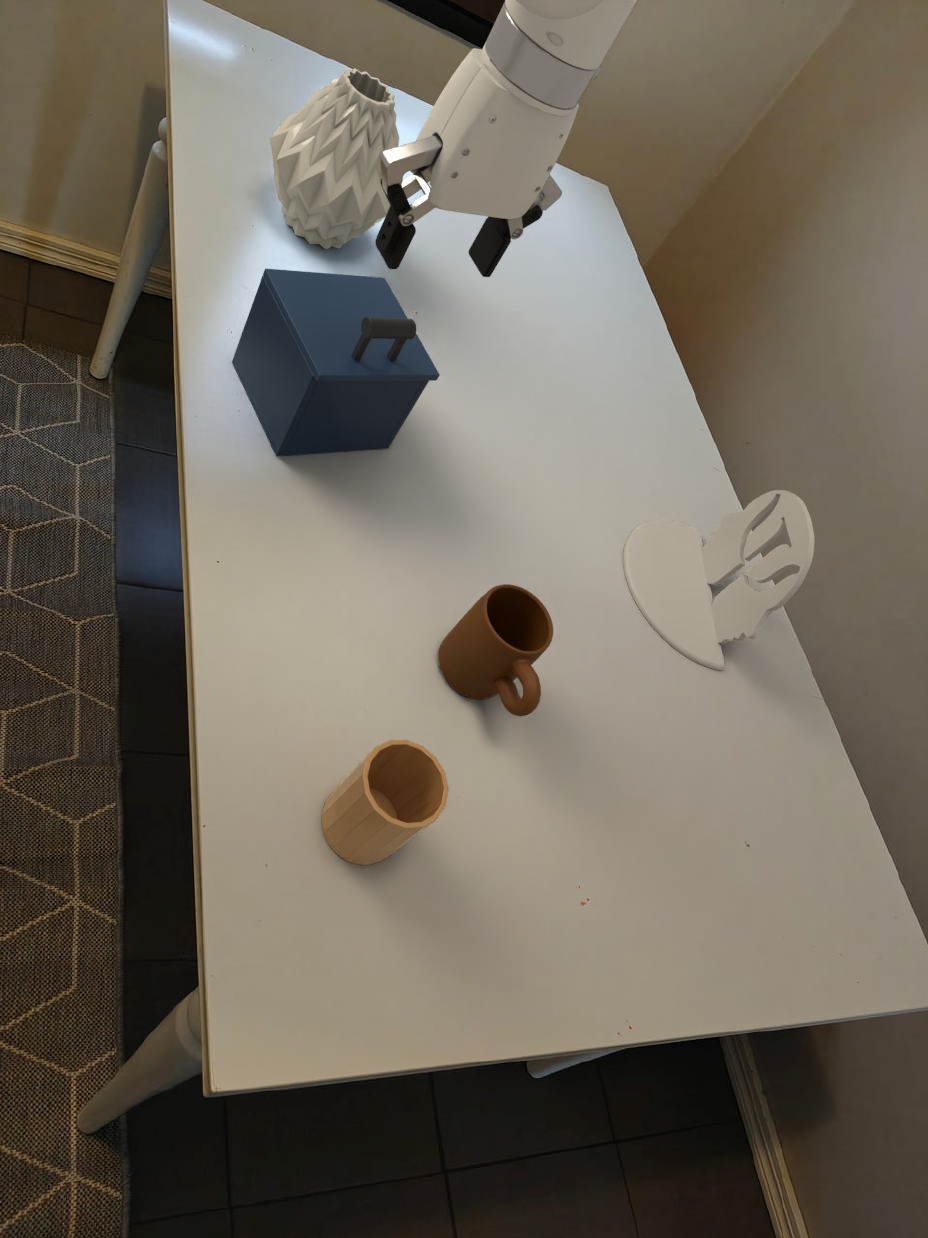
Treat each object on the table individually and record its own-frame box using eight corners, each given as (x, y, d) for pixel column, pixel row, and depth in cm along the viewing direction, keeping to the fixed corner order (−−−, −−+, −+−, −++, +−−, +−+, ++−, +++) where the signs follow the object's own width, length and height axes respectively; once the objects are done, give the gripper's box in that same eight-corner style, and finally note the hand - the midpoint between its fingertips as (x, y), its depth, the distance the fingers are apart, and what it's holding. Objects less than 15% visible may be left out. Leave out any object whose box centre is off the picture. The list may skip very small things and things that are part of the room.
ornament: (723, 672, 101) (833, 598, 88) (631, 641, 96) (734, 558, 84) (698, 531, 113) (791, 449, 101) (616, 498, 109) (703, 407, 96)
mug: (523, 744, 81) (579, 701, 74) (454, 746, 77) (505, 701, 70) (494, 634, 87) (542, 584, 80) (428, 631, 83) (473, 578, 76)
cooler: (388, 448, 94) (433, 374, 85) (276, 456, 85) (313, 375, 77) (343, 362, 98) (381, 283, 89) (231, 361, 89) (262, 275, 81)
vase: (235, 172, 107) (279, 21, 93) (350, 195, 116) (406, 60, 103) (274, 264, 101) (327, 117, 87) (392, 280, 110) (456, 150, 97)
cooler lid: (436, 380, 85) (461, 340, 81) (316, 381, 77) (337, 337, 73) (381, 283, 89) (402, 240, 85) (262, 274, 81) (279, 226, 77)
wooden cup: (311, 849, 66) (354, 809, 60) (332, 772, 70) (374, 726, 64) (390, 876, 68) (440, 840, 61) (406, 799, 72) (454, 758, 66)
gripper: (598, 53, 65) (491, 239, 78) (414, -6, 55) (326, 219, 68) (647, 118, 63) (529, 299, 76) (464, 69, 53) (363, 288, 65)
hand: (433, 261), depth 72 cm, fingers open, 9 cm apart
